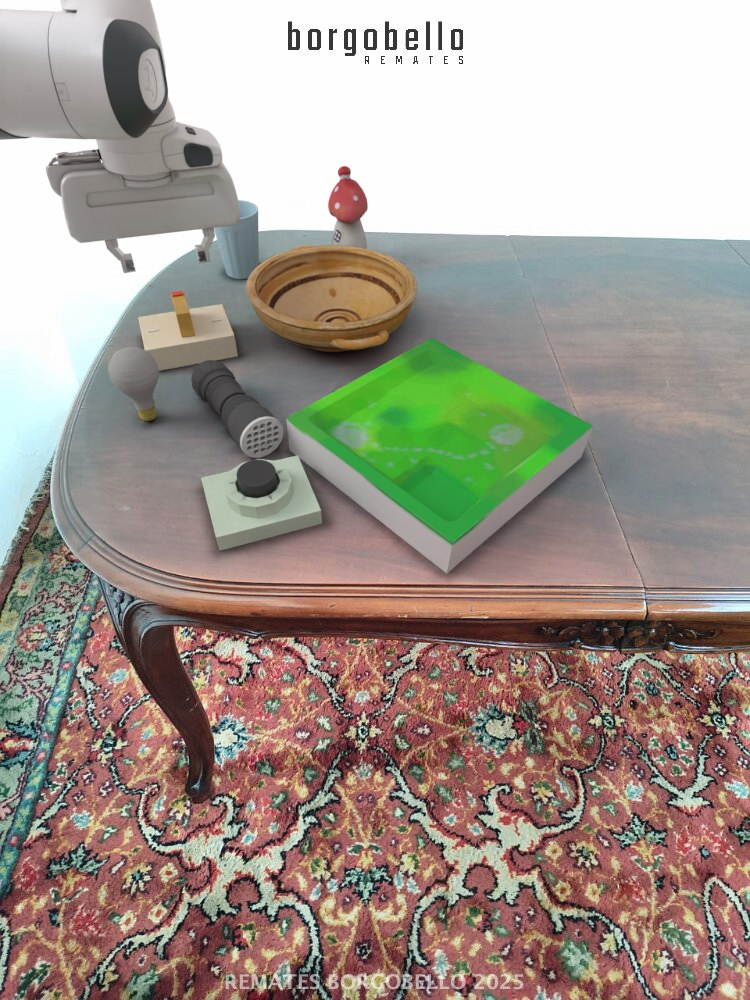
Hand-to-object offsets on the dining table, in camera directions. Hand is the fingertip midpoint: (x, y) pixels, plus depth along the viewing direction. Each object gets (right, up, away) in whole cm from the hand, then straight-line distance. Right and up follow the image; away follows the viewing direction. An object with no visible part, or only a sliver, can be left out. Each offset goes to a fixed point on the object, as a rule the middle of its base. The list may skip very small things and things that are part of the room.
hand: (167, 265), depth 76 cm
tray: (+34, -25, -5) cm, 43 cm away
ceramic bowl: (+21, -5, +13) cm, 25 cm away
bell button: (+15, -29, -14) cm, 35 cm away
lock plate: (0, -8, +9) cm, 12 cm away
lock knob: (0, -6, +6) cm, 9 cm away
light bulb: (-1, -20, -2) cm, 21 cm away
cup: (+4, +9, +25) cm, 27 cm away
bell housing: (+15, -31, -12) cm, 36 cm away
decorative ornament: (+22, +11, +28) cm, 37 cm away
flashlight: (+10, -21, -2) cm, 23 cm away
